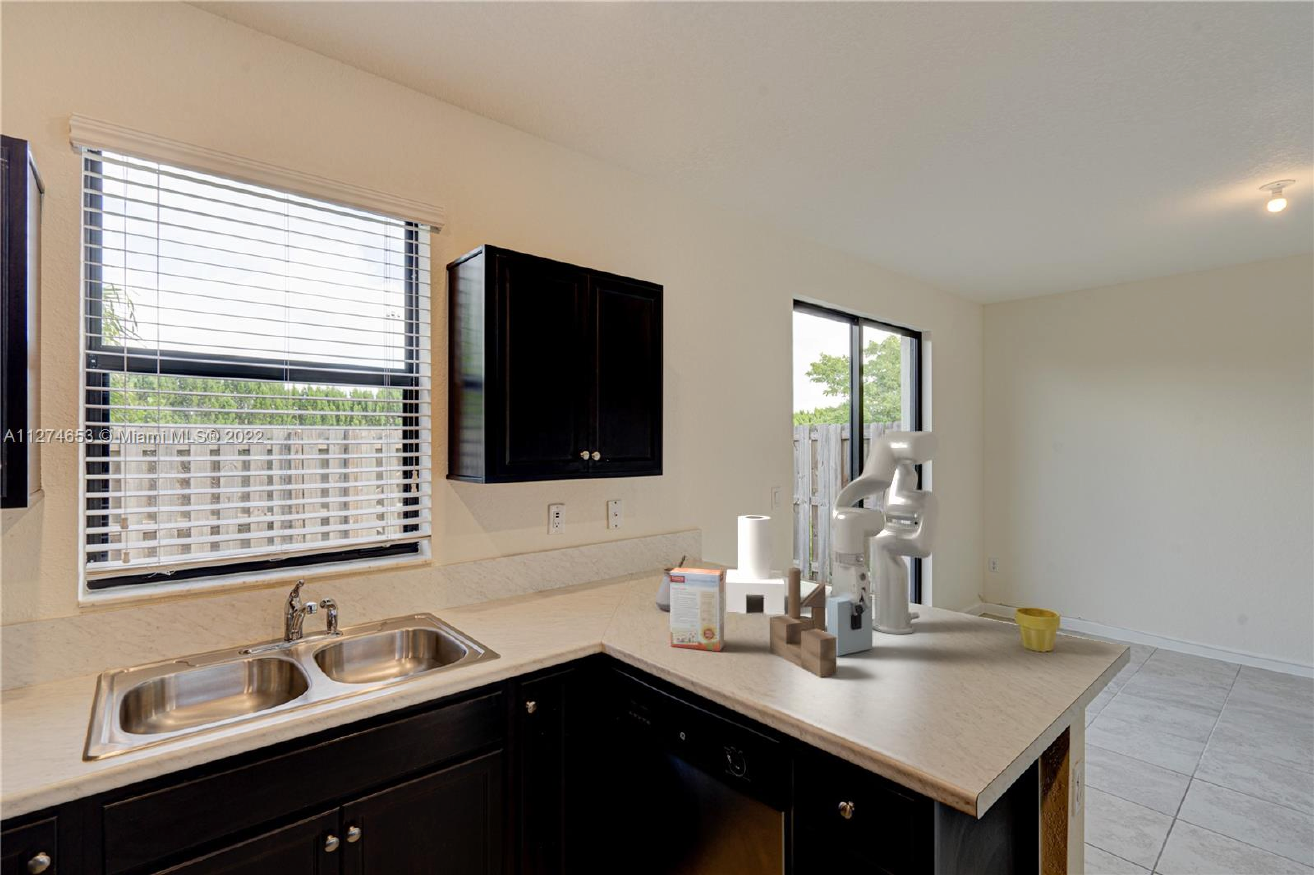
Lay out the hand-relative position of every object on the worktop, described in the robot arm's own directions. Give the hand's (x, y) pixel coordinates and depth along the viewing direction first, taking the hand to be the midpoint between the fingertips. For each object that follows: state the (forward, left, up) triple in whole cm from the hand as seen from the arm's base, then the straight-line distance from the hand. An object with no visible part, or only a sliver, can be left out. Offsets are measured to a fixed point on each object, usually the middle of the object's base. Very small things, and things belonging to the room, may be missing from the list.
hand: (849, 625), depth 164 cm
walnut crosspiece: (+16, 0, -7) cm, 18 cm away
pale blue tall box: (0, 0, -6) cm, 6 cm away
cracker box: (+34, -22, -7) cm, 41 cm away
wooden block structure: (-2, -20, -7) cm, 21 cm away
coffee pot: (+20, -61, -7) cm, 65 cm away
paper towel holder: (-3, -48, -7) cm, 48 cm away
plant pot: (-48, +20, -7) cm, 52 cm away
